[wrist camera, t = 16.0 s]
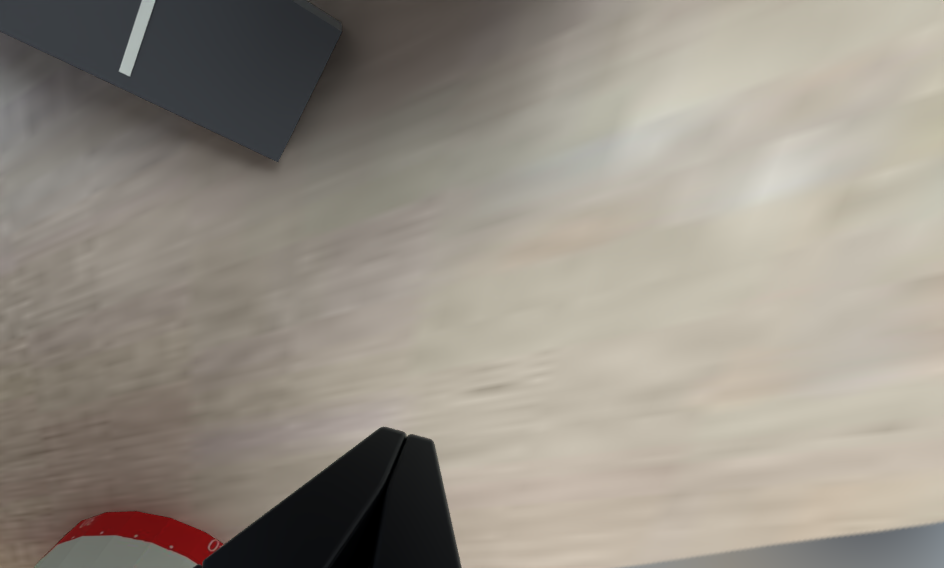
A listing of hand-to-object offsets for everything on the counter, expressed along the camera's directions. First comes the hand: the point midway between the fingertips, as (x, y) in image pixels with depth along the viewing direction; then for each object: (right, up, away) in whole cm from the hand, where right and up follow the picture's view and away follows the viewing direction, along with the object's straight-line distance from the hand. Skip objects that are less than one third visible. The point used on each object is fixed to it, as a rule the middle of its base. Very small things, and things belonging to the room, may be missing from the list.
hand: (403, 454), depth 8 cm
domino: (-5, +9, +10) cm, 15 cm away
